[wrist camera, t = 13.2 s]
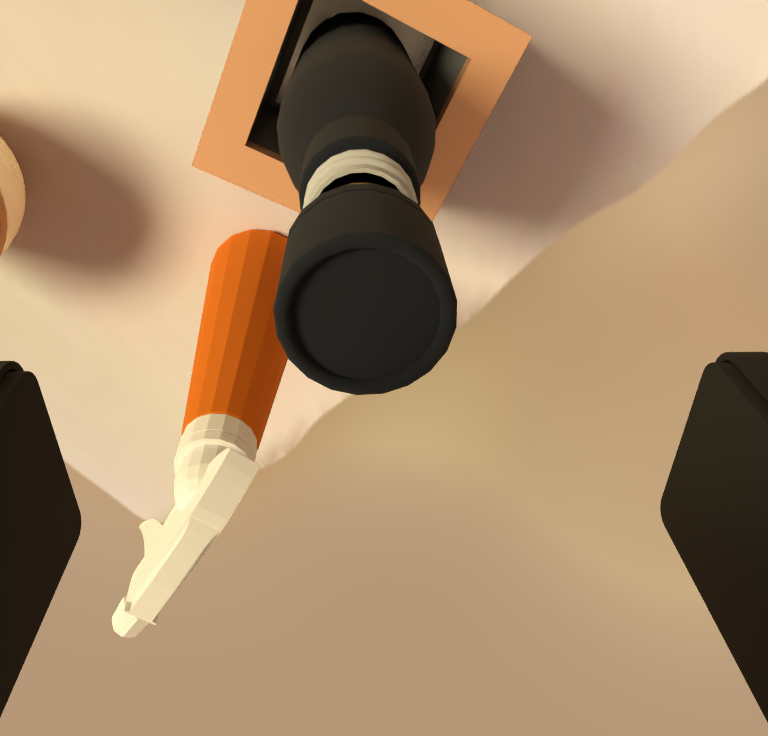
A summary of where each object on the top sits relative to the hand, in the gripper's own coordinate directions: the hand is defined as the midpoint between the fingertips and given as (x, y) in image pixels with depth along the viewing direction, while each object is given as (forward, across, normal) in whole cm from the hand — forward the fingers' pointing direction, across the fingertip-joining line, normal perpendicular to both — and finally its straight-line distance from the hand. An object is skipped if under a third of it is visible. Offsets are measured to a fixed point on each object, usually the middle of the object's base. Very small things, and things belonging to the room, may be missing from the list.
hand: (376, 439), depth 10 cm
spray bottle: (+37, +8, +16) cm, 41 cm away
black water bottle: (+35, 0, +1) cm, 35 cm away
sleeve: (+37, 0, +1) cm, 37 cm away
